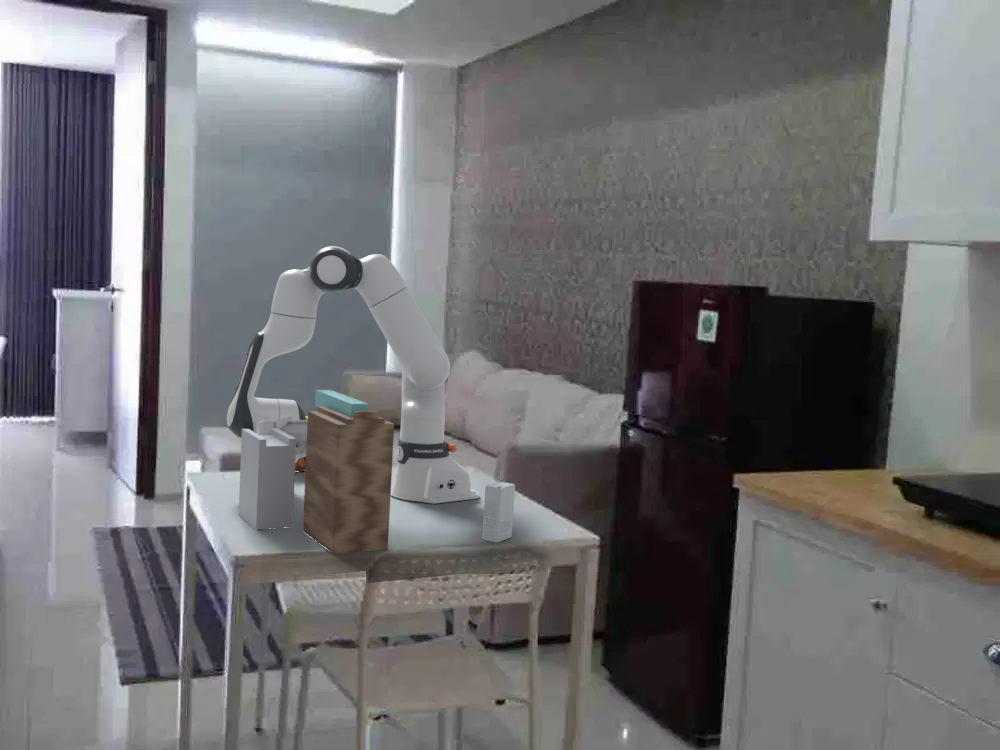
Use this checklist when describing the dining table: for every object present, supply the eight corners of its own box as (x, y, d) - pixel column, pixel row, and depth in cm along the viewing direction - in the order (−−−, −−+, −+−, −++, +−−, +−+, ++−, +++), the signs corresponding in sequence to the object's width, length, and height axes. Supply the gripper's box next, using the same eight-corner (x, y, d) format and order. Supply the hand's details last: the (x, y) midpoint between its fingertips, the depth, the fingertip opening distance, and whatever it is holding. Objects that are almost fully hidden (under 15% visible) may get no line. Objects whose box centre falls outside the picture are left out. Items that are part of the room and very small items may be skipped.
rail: (330, 405, 228) (330, 389, 228) (367, 420, 209) (367, 403, 209) (314, 405, 227) (315, 389, 226) (350, 421, 208) (351, 403, 207)
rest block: (273, 512, 235) (276, 428, 234) (292, 527, 223) (296, 438, 221) (238, 514, 232) (241, 428, 230) (256, 530, 219) (259, 439, 217)
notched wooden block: (355, 528, 226) (361, 399, 223) (387, 549, 211) (394, 411, 208) (302, 531, 220) (308, 399, 218) (331, 554, 205) (338, 411, 202)
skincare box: (495, 534, 228) (498, 480, 227) (512, 538, 226) (516, 483, 224) (480, 539, 223) (483, 484, 221) (498, 543, 220) (501, 488, 219)
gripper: (246, 428, 242) (262, 406, 231) (329, 427, 252) (348, 406, 241) (249, 453, 240) (265, 433, 229) (333, 451, 250) (352, 431, 239)
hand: (308, 419), depth 235 cm, fingers open, 8 cm apart
